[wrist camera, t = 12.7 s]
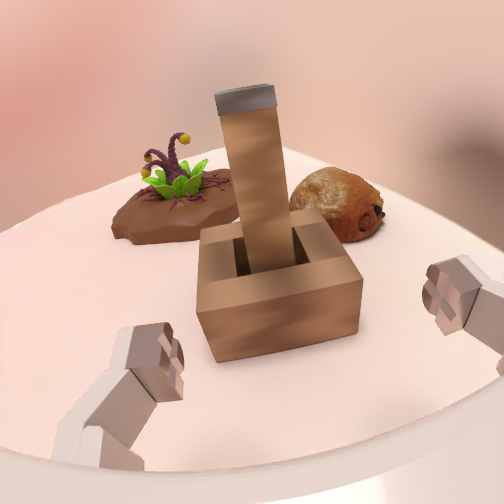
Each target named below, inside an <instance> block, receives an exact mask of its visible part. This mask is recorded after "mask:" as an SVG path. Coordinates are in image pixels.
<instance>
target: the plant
mask: <svg viewBox="0 0 504 504" xmlns="http://www.w3.org/2000/svg"><path fill="white" fill-rule="evenodd" d="M176 138H178V140H179V141H180V142H181V143H182V144H184V145H186V144H189V143H190V137H189V135H188V134H186V133H176V134H174V135H173V136H172V137H171V138H170V143H169V147H168V149H169V151H168V154H169V155H168V157H169V159H168V158H167V157H166V156H165V155H164V154H163V153H162V152H160V151H159V150H158V151H157V150H154V149H149V150H148V151H147V152H146V153H145V155H144V160H145V161H146V162H150V161H151V160H152V155H151V154H150V153H154V154H156V155H157V156H158V157H159V158H160V159H161V160H162V161H159V160H154V161H151V162H150V163H148V164H146V165H145V167H143V169H142V171H141V175H142V176H143V178H142V181H145V182H147V183H149V184H151V185H150V186H148V187H147V188H145V189H141V190H140V191H139V192H137V193H136V194H135V195H134V196H133V197H131V199H130V200H129V201H128V202H127V203H126V204H125V205H124V206H123V207H122V208H120V209H119V210H118V211H117V214H116V215H115V216H114V218H113V224H112V226H111V229H112V231H113V234H114V236H115V239H121V238H126V239H129V240H131V241H132V243H133V244H134V245H144V244H157V243H168V242H185V241H194V240H199V239H200V231H201V229H205V228H209V227H214V226H219V225H224V224H229V223H230V222H232V221H234V220H235V219H236V218H238V217H239V211H238V206H237V201H236V196H235V191H234V186H233V181H232V176H231V171H230V169H218V170H214V171H209V172H206V171H203V169H204V167H205V165H206V164H207V162H208V159H205V160H203V161H201V162H199V163H198V164H197V165H196V166H195V167H194V169H193V170H192V172H190V168H189V165H188V162H187V161H183V162H182V163H181V164H178V160H177V158H176V153H175V148H174V145H175V143H174V142H175V139H176ZM153 165H159V166H160V167H161V168H163V170H164V171H161V170H156V171H155V174H156V175H157V176H158V178H159V179H157V178H154V177H149V176H150V175H151V166H153Z"/></svg>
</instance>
